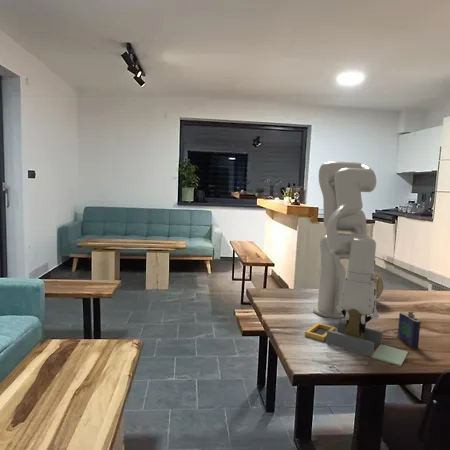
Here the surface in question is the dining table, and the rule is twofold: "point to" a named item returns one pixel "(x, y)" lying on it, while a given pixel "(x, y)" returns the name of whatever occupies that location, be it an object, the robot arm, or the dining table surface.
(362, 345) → the grey parallel walls
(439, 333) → the dining table surface
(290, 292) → the dining table surface
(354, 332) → the cork
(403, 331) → the flask
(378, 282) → the cantaloupe
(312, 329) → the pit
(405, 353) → the mat
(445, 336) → the dining table surface
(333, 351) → the dining table surface
